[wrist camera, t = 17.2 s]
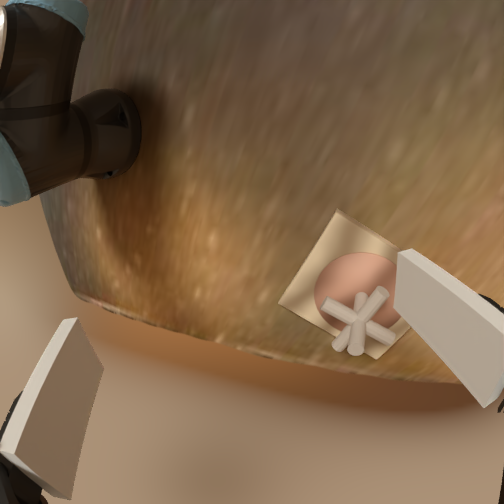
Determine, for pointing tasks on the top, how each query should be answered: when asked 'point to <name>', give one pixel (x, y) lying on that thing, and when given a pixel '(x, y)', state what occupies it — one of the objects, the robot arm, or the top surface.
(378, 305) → the grey toy jack
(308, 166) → the top surface
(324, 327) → the board
